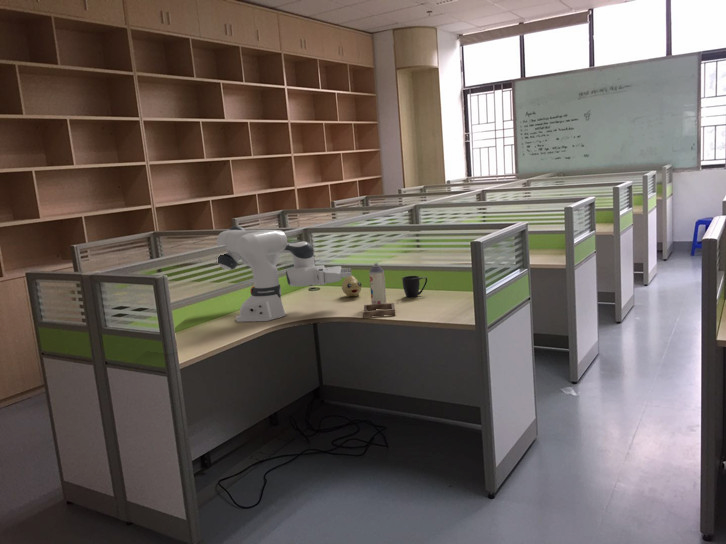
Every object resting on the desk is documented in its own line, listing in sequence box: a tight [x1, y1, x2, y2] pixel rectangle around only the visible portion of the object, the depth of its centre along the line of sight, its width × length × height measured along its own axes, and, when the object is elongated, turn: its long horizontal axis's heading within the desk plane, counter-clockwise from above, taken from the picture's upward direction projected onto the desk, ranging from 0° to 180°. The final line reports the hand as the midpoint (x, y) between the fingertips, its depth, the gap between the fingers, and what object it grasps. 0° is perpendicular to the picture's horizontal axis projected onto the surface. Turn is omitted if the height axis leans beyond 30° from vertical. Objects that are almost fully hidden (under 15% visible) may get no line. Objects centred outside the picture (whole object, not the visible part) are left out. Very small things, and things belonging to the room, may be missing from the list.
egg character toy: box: [341, 274, 362, 298], centre depth 308 cm, size 10×12×11 cm
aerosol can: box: [368, 262, 387, 305], centre depth 281 cm, size 7×7×20 cm
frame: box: [363, 302, 396, 318], centre depth 270 cm, size 13×13×2 cm
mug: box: [401, 275, 428, 299], centre depth 297 cm, size 8×12×10 cm
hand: (351, 272), depth 282 cm, fingers open, 8 cm apart
